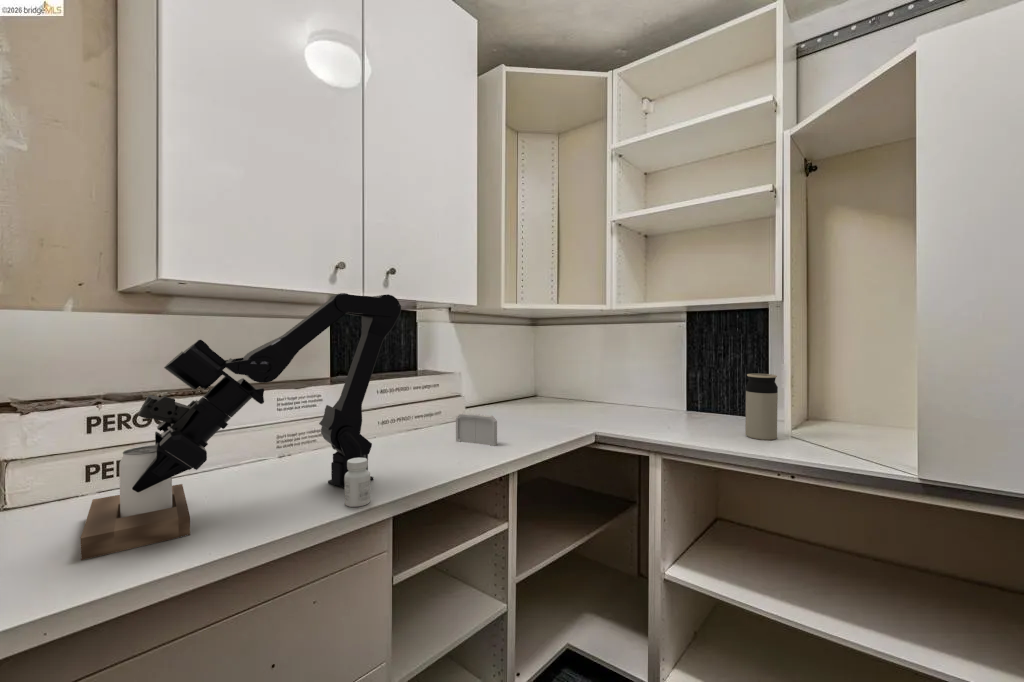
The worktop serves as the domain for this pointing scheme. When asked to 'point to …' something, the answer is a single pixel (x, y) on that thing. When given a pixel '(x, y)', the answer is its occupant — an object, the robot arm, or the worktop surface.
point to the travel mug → (761, 407)
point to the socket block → (132, 525)
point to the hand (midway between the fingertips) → (135, 485)
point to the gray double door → (476, 429)
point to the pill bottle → (357, 483)
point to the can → (129, 474)
